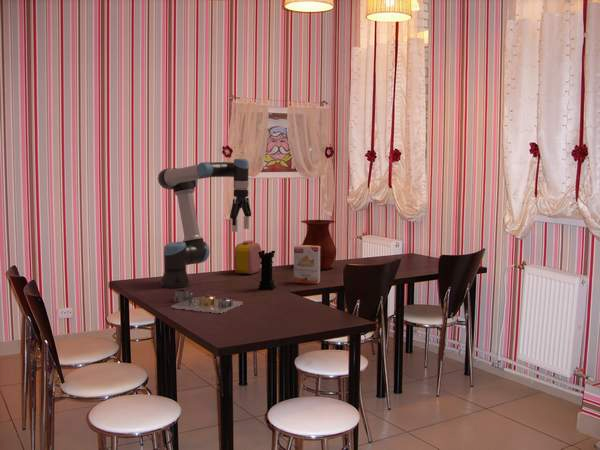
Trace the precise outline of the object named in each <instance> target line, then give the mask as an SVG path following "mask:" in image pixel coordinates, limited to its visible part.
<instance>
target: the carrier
mask: <svg viewBox="0 0 600 450" xmlns="http://www.w3.org/2000/svg"><path fill="white" fill-rule="evenodd" d="M240 305H241V306H243V301H239V300H234V299H232V298H227V297H222V298H219V299H217V296H214V295H210V294H205V295H202V296H201V295H200V296H199V297H198V296H195V297H193V293H192V292H189V299H188V300H185V301H183V302H176V303H174V304H172V305H171V309H172V308H175V309H174V310H181V309H185V310H184V311H190V310H193V312H200V311H201V313H209V312H211V313H212V314H218V313H222V314H224V313H226V312H229V311H231V310H233V308H234V309H236V308H238V307H241V306H240ZM237 306H238V307H237ZM235 307H236V308H235ZM230 309H231V310H230ZM228 310H229V311H228ZM223 312H224V313H223ZM211 313H210V314H211Z"/></svg>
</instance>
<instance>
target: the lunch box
mask: <svg viewBox="0 0 600 450" xmlns="http://www.w3.org/2000/svg"><path fill="white" fill-rule="evenodd" d="M261 251H262V247H261V245H260V244H259V243H258V242H254V240H244V241H242V242H240V243H238V244H236V246H235V247H234V256H233V258H234V259H233V260H234V262H233V263H234V270H235V271H234V272H235V273H236V274H239V275H240V274H247V275H254V274H256V273H258V272H259V271H260V270H261V264H260V262H261V258H259V254H258V252H261Z"/></svg>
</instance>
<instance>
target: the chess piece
mask: <svg viewBox="0 0 600 450" xmlns="http://www.w3.org/2000/svg"><path fill="white" fill-rule="evenodd" d="M275 253H276V250H270V251H269V252H266V250H264V249H263V250H262V249H261V252H258V254H259V258H261V262H260V264H261V267H260V270H261V271H260V273H261V275H260V276H261V277H260V278H261V279H260V281H259V282H258V287H257V291H274V290H275V289H276V288H277V286H276V283H275V280H274V279H273V264H274V261H273V258H275Z"/></svg>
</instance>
